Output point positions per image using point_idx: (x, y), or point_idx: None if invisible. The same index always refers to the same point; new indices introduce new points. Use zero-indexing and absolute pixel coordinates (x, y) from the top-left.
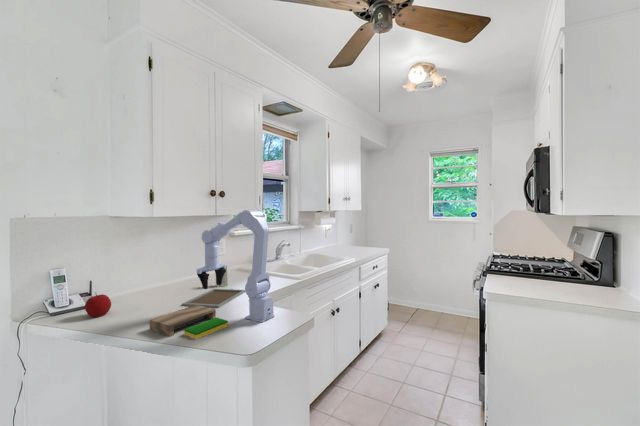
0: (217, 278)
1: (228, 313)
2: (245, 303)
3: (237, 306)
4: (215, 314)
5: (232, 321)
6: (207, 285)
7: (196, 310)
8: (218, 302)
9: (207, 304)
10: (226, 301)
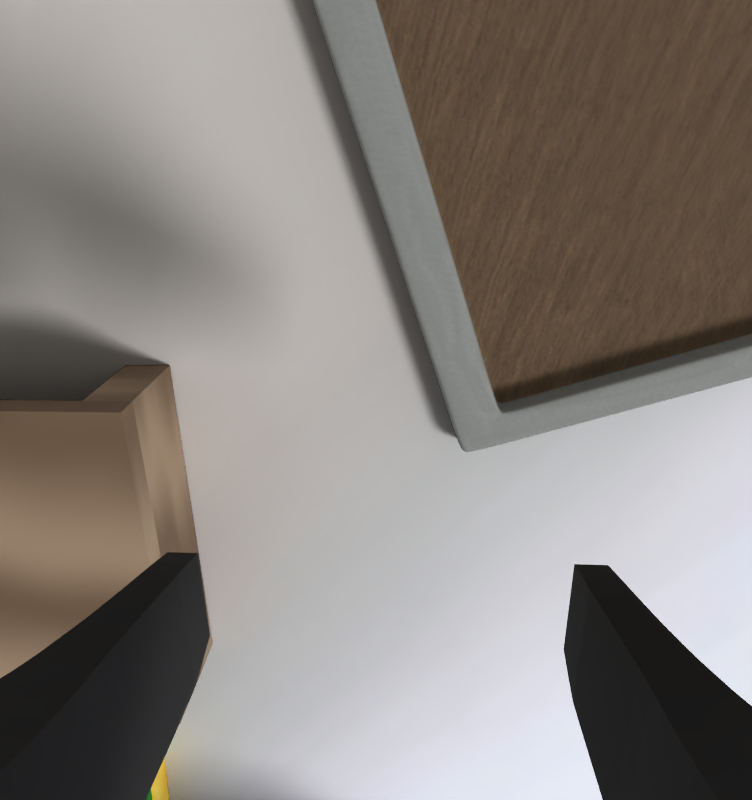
0: (627, 707)
1: (374, 655)
2: (746, 598)
3: None
4: (199, 673)
5: (249, 792)
6: (177, 711)
7: (8, 597)
8: (657, 252)
9: (430, 269)
10: (682, 395)
